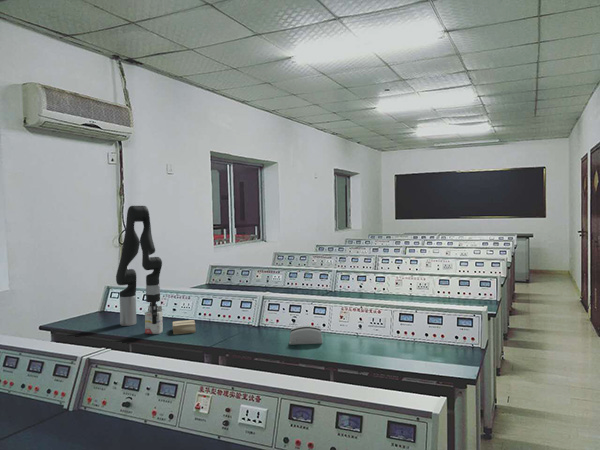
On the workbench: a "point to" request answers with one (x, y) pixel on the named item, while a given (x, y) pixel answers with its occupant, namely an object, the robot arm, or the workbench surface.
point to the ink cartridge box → (156, 327)
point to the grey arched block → (305, 335)
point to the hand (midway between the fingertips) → (153, 322)
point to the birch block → (184, 327)
